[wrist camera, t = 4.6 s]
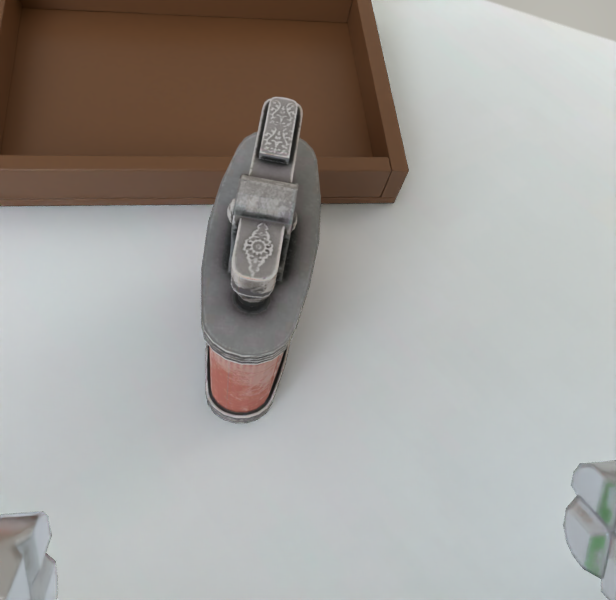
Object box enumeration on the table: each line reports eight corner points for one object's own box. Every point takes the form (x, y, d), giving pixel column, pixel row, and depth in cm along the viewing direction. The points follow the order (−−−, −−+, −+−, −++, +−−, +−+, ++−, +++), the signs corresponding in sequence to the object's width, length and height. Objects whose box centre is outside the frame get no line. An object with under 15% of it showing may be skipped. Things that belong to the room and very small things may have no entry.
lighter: (278, 429, 23) (317, 328, 14) (190, 416, 22) (173, 305, 13) (302, 252, 26) (346, 82, 17) (227, 240, 26) (233, 60, 17)
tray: (-22, 206, 25) (-46, 169, 23) (10, 5, 30) (-6, -41, 28) (394, 203, 28) (409, 170, 26) (357, 21, 33) (367, -19, 31)
